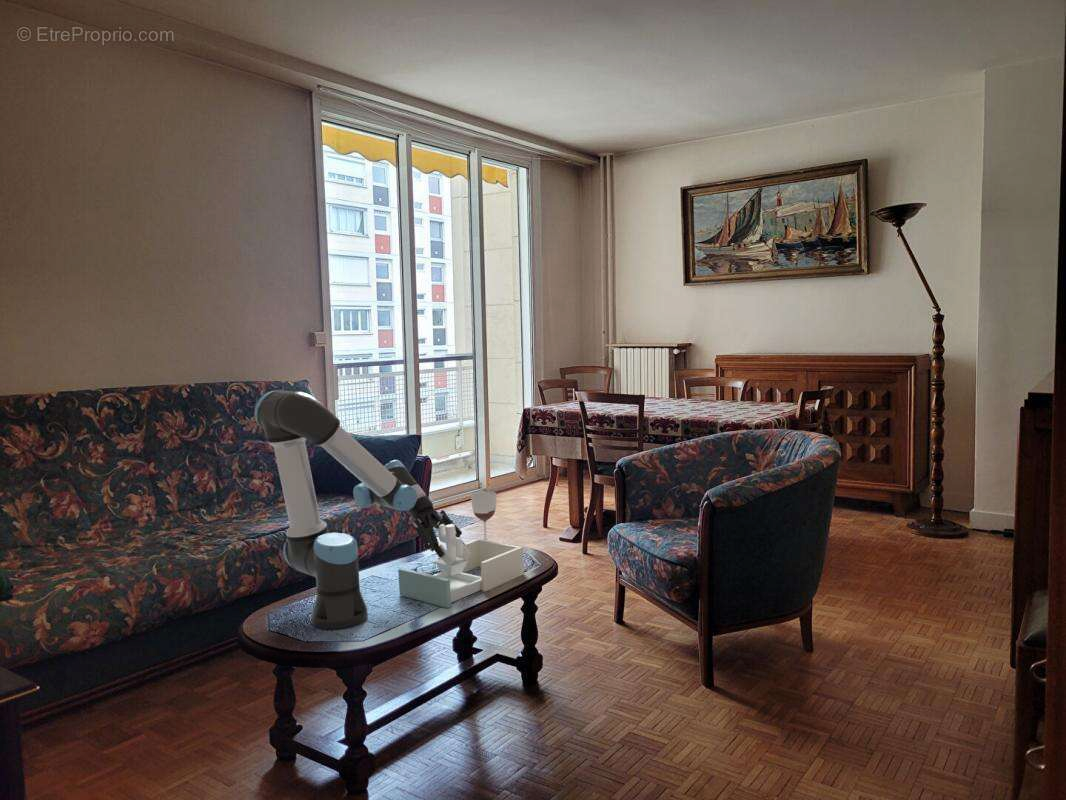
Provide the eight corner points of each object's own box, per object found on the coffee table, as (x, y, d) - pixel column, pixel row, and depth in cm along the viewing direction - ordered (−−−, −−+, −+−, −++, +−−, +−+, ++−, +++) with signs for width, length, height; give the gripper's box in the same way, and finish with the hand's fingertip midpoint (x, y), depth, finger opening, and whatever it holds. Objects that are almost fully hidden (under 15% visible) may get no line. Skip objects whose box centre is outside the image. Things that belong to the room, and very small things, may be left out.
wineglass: (470, 559, 268) (468, 497, 266) (477, 551, 277) (474, 491, 275) (495, 559, 267) (492, 497, 264) (501, 551, 276) (498, 491, 274)
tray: (447, 607, 222) (446, 580, 221) (399, 594, 234) (398, 569, 233) (491, 588, 237) (490, 563, 236) (443, 577, 249) (442, 553, 248)
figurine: (453, 579, 232) (451, 530, 230) (432, 572, 238) (431, 524, 236) (470, 572, 237) (469, 525, 235) (450, 566, 243) (448, 519, 241)
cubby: (484, 591, 235) (483, 562, 234) (439, 580, 247) (438, 553, 246) (523, 574, 250) (522, 547, 249) (479, 564, 262) (478, 538, 261)
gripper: (432, 503, 252) (473, 558, 245) (388, 517, 235) (431, 577, 228) (443, 488, 248) (486, 544, 241) (400, 502, 232) (444, 562, 224)
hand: (459, 560), depth 235 cm, fingers closed on figurine, 7 cm apart
